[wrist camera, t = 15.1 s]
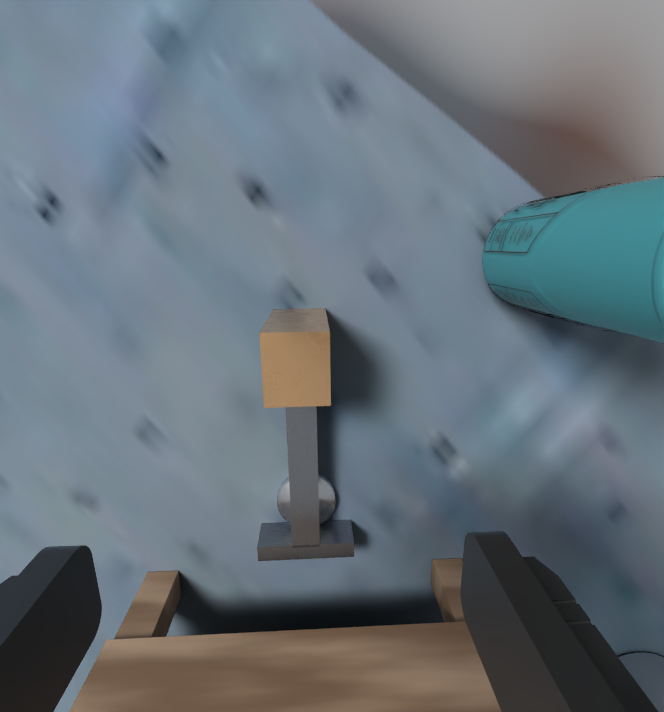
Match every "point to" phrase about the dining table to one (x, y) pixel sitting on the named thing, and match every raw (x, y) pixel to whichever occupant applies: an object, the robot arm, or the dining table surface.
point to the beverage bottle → (586, 258)
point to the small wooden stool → (289, 663)
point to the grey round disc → (325, 499)
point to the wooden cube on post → (300, 432)
